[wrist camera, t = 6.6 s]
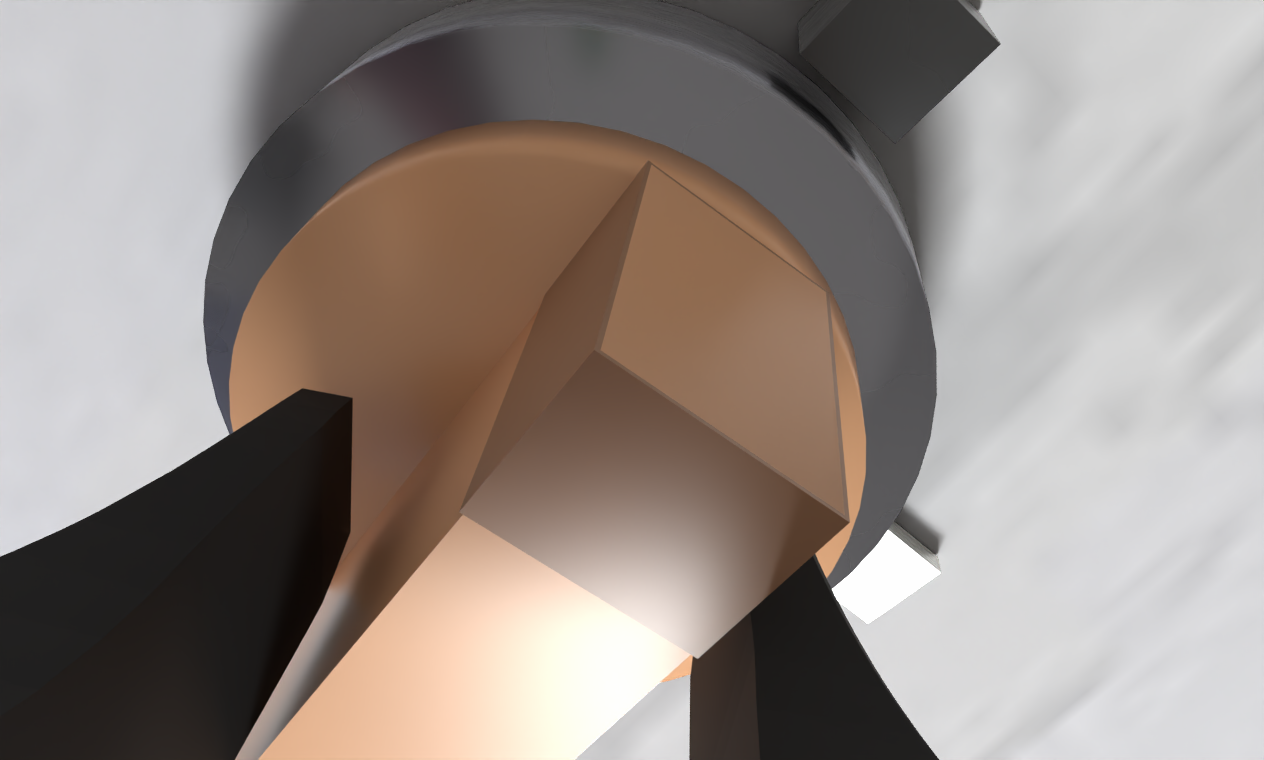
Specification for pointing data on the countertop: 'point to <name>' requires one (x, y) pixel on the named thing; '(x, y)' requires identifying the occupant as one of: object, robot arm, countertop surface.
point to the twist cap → (546, 436)
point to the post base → (691, 124)
